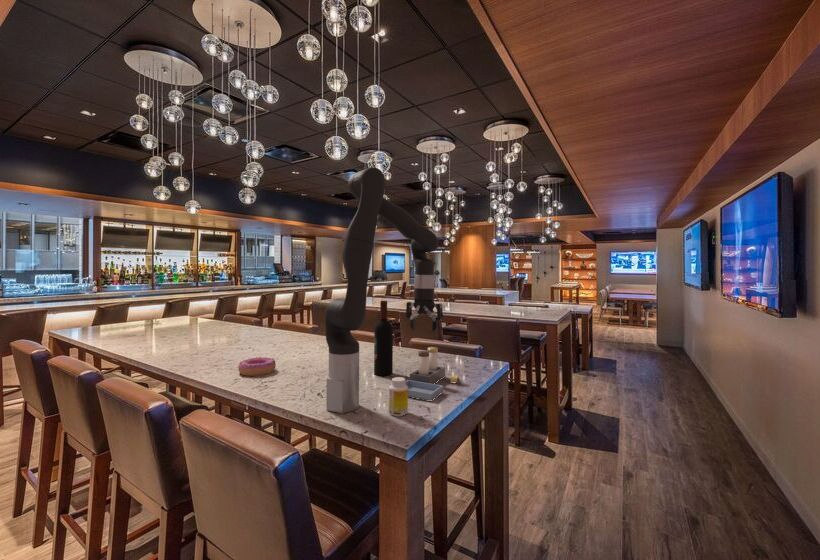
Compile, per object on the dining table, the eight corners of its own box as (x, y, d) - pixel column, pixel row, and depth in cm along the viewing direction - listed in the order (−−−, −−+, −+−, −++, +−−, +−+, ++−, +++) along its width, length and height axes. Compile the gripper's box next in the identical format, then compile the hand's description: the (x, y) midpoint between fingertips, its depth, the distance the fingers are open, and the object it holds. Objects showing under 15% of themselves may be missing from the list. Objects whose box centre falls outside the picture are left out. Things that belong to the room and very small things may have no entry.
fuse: (434, 380, 140) (435, 349, 140) (425, 378, 142) (425, 348, 142) (439, 377, 143) (439, 347, 143) (429, 376, 145) (430, 346, 145)
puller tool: (457, 383, 136) (457, 380, 136) (450, 383, 136) (450, 379, 136) (457, 377, 144) (457, 374, 144) (451, 377, 144) (451, 373, 144)
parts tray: (443, 392, 125) (443, 385, 125) (431, 401, 117) (431, 394, 116) (407, 386, 132) (407, 379, 132) (393, 394, 123) (393, 387, 123)
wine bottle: (384, 377, 143) (384, 302, 142) (370, 374, 147) (370, 301, 147) (396, 373, 149) (396, 300, 148) (382, 370, 153) (383, 300, 153)
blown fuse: (426, 386, 133) (426, 353, 133) (416, 384, 135) (416, 352, 135) (430, 383, 136) (430, 351, 136) (421, 381, 138) (421, 350, 138)
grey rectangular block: (429, 387, 131) (429, 376, 131) (409, 384, 134) (409, 373, 134) (445, 377, 144) (445, 367, 144) (427, 374, 148) (427, 365, 148)
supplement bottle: (411, 413, 107) (411, 379, 107) (398, 418, 103) (398, 383, 103) (398, 408, 111) (398, 375, 110) (384, 413, 107) (385, 379, 106)
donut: (252, 379, 140) (252, 366, 140) (230, 373, 147) (230, 361, 147) (283, 371, 152) (283, 359, 152) (261, 366, 160) (261, 354, 160)
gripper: (402, 287, 135) (402, 330, 135) (437, 288, 128) (437, 333, 129) (411, 286, 141) (411, 327, 142) (445, 287, 135) (445, 330, 135)
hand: (423, 330), depth 135 cm, fingers open, 8 cm apart
